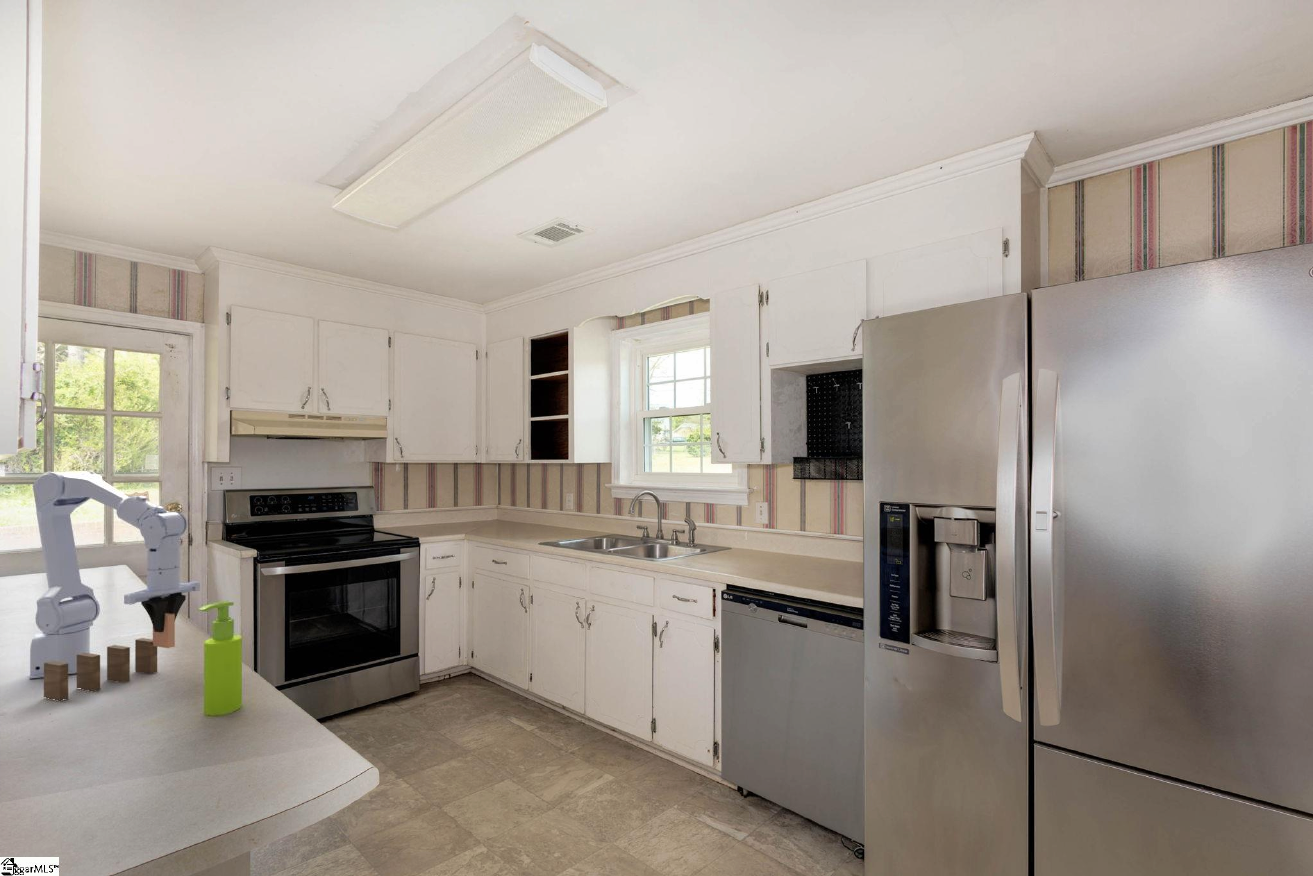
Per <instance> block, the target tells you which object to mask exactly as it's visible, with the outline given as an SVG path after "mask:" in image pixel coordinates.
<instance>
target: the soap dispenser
mask: <svg viewBox="0 0 1313 876" xmlns="http://www.w3.org/2000/svg"><path fill="white" fill-rule="evenodd" d="M234 603H235V602H234V601H230V600H229V601H228V600H226V601H218V602H217V601H216V602H213V603H209V604H206V605H203V606H200V607H198V608H197V610H198V611H199V612H200V611H201V612H208V611H210V610H213V609H217V618H216V619H215V620H213V621H212V632H211V633H212V635H211V636H212V637H211V638H208V639H206V640H204V642H203V645H204V648H203V650H204V651H203V655H204V658H203V660H204V661H203V664H204V665H203V666H204V667H203V669H204V670H203V676H204V677H203V679H204V680H203V683H204V684H203V688H204V689H203V693H204V694H203V698H204V699H203V713H204V715H205V716H208V715H210V717H214V716H215V715H218V716H223V715H227V714H226V713H229V714H232V713H234V712H233V711H235V712H237V711H239V710H240V709H241V708H242V707H243V702H242V701H243V698H242V697H243V688H242V687H243V677H242V676H243V673H242V672H243V664H242V663H243V636H242V635H239V634H235V619H234V618H232V617H230V616H229V615H230V614H229V613H230V612H229V609H230V608H229V607H231V606H234V605H235V604H234ZM239 708H240V709H239ZM238 709H239V710H238ZM236 710H237V711H236ZM231 712H232V713H231Z"/></svg>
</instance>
